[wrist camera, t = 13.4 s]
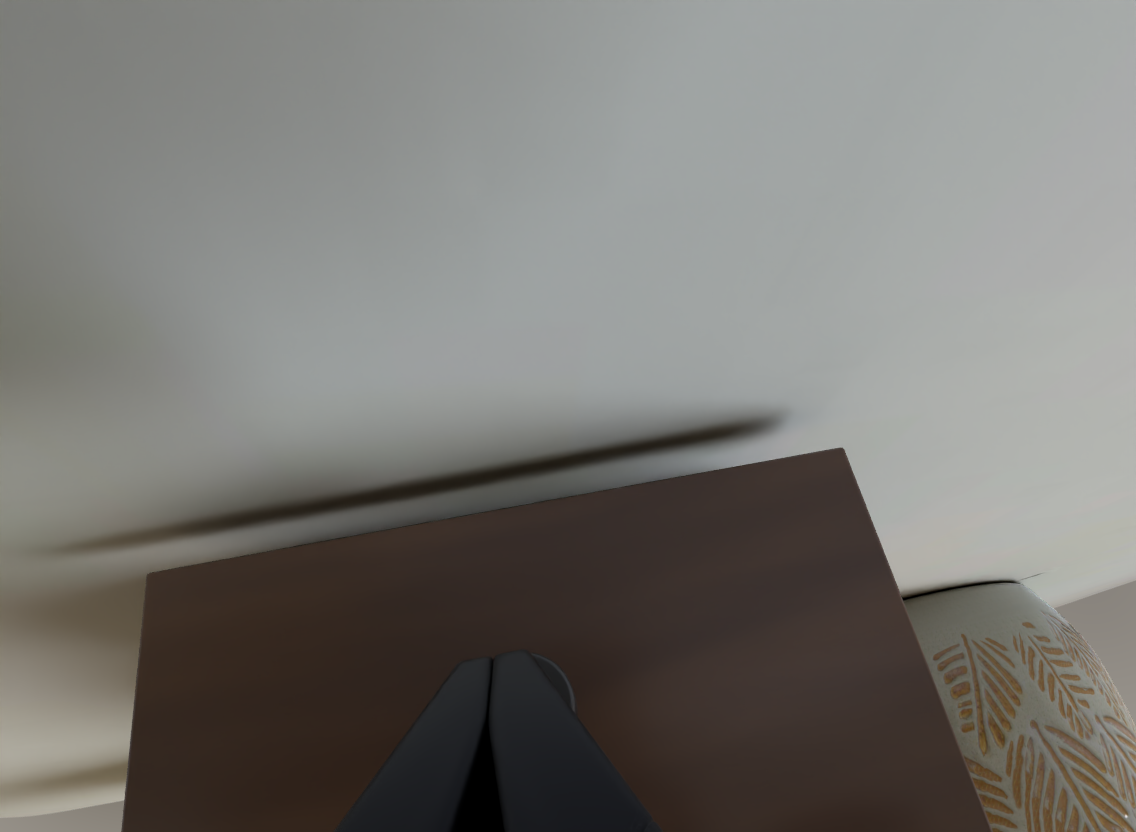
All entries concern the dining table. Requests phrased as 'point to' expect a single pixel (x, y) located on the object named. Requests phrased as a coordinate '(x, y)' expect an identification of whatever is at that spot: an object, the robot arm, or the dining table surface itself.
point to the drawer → (564, 659)
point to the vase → (1029, 710)
